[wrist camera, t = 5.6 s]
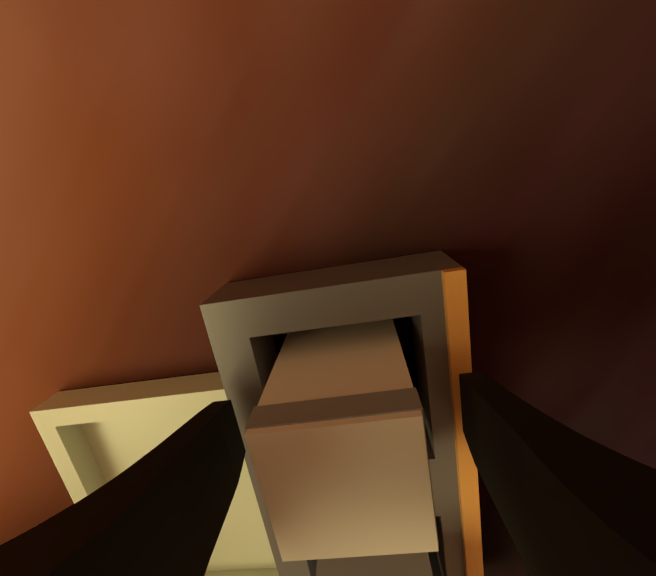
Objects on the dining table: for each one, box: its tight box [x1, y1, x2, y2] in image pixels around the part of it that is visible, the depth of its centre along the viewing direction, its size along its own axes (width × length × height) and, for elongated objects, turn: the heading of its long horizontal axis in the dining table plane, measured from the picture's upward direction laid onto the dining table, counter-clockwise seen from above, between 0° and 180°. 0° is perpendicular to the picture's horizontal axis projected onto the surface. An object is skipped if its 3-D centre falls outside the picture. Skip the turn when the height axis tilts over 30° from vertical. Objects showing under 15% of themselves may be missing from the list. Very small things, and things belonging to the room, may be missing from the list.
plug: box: [245, 319, 439, 562], centre depth 11 cm, size 4×4×6 cm
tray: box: [29, 372, 279, 576], centre depth 16 cm, size 12×10×1 cm
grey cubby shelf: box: [200, 250, 484, 576], centre depth 14 cm, size 16×8×3 cm, turn 10°
